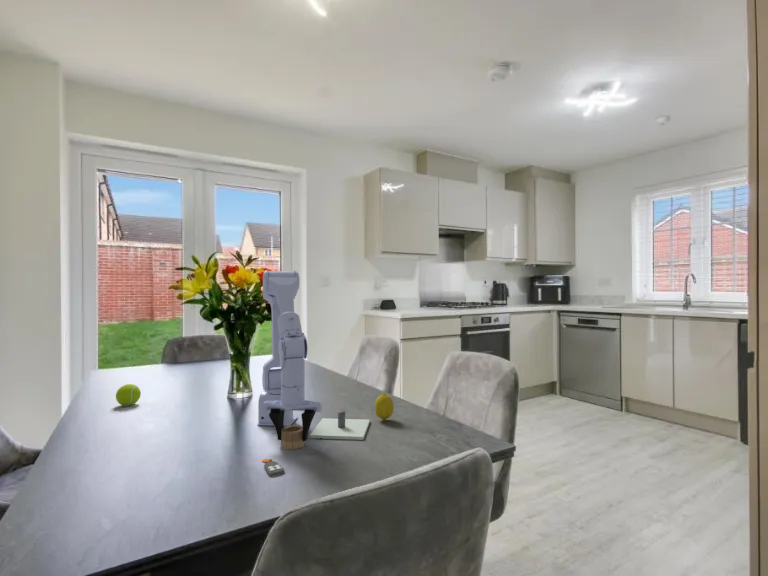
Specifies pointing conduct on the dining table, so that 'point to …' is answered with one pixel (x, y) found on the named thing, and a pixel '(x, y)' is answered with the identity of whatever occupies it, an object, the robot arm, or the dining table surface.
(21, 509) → the dining table surface
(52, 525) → the dining table surface
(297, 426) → the bead
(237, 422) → the dining table surface
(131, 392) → the tennis ball
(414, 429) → the dining table surface
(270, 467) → the key chain
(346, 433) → the white board with peg
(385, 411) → the lemon
